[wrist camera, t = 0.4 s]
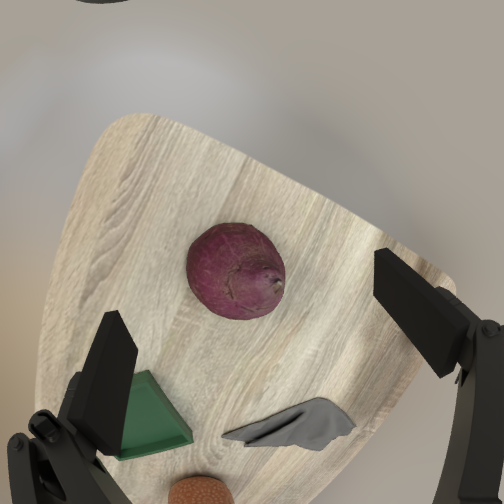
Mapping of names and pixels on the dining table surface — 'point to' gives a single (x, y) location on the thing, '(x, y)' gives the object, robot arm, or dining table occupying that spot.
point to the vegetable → (236, 271)
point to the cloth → (298, 427)
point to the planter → (200, 491)
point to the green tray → (151, 421)
